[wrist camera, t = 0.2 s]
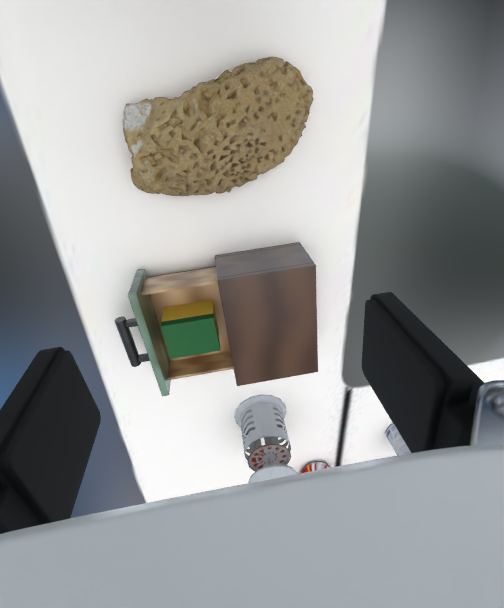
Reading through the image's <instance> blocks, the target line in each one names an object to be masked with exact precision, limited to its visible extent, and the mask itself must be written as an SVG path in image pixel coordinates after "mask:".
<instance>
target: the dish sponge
mask: <svg viewBox="0 0 504 608" xmlns="http://www.w3.org/2000/svg"><path fill="white" fill-rule="evenodd" d="M161 330H162V333H163V337H164V340H165V343H166V347H167V350H168V353H169V357H170V359H174V358H179V357H185V356H191V355H197V354H203V353H209V352H215V351H220V339H219V329H218V324H217V319H216V314H215V309H214V304H213V299H212V300H205V301H199V302H193V303H187V304H181V305H175V306H169V307H164V310H163V315H162V321H161Z"/></svg>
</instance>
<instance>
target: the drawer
mask: <svg viewBox="0 0 504 608" xmlns="http://www.w3.org/2000/svg"><path fill="white" fill-rule="evenodd" d="M128 297H129V300H130V303H131V306H132V309H133V312H134V315H135V318H134V319H128V320H126V318H125V317H119V318H117V319H116V320H115V323H116V326H117V329H118V331H119V334H120V337H121V339H122V342H123V344H124V347H125V350H126V352H127V355H128V358H129V360H130V363H131V365H132V366H133V367H136V366H139V365H140V364H141V362H145V361H150V362H151V365H152V368H153V371H154V373H155V376H156V379H157V382H158V385H159V388H160V391H161V394H162V396H167V395H169V391H170V381H171V379H177V378H183V377H189V376H194V375H200V374H206V373H212V372H217V371H223V370H229V369H234V367H233V362H232V356H231V351H230V346H229V340H228V335H227V329H226V324H225V318H224V313H223V308H222V302H221V297H220V291H219V286H218V280H217V270H216V267H211V268H205V269H199V270H192V271H186V272H180V273H173V274H167V275H161V276H154V277H148V278H147V276H146V273H145V270H144V269H142V270H137V272H136V275H135V277H134V280H133V283H132V285H131V288H130V291H129V293H128ZM212 299H213V304H214V309H215V314H216V319H217V324H218V329H219V339H220V351H215V352H209V353H203V354H197V355H191V356H185V357H179V358H174V359H170V357H169V353H168V350H167V347H166V343H165V340H164V337H163V333H162V330H161V321H162V315H163V310H164V307H169V306H175V305H181V304H187V303H193V302H199V301H205V300H212ZM134 326H138V327H139V330H140V332H141V335H142V338H143V341H144V344H145V347H146V350H147V354H141V355H139V354H138V351H137V348H136V346H135V343H134V340H133V337H132V335H131V332H130V329H129V327H134Z"/></svg>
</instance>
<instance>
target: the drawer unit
mask: <svg viewBox="0 0 504 608" xmlns="http://www.w3.org/2000/svg"><path fill="white" fill-rule="evenodd" d="M215 260H216V270H217V280H218V286H219V291H220V297H221V302H222V308H223V313H224V318H225V324H226V329H227V335H228V340H229V346H230V351H231V356H232V362H233V367H234V373H235V378H236V383H237V386H240V385H246V384H251V383H257V382H263V381H268V380H274V379H280V378H285V377H291V376H297V375H302V374H308V373H314V372H318V354H317V308H316V265H315V264H314V262H313V261H312V259H311V258H310V256H309V255H308V254H307V252H306V251H305V249H304V248H303V247H302V245H301V244H300V242H299V243H292V244H286V245H280V246H273V247H267V248H260V249H254V250H248V251H241V252H235V253H228V254H222V255H216V256H215Z"/></svg>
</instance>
